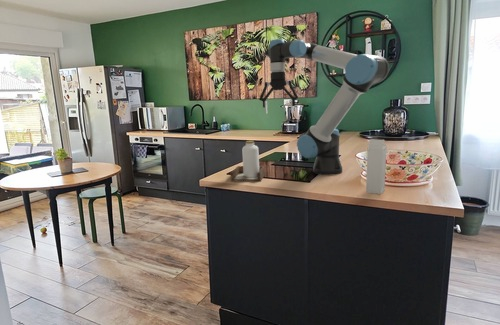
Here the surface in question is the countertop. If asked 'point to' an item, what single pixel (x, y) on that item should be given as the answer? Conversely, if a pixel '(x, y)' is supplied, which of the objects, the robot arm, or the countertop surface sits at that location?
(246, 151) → the white bottle
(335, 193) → the countertop surface
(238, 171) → the brown tray
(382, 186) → the milk
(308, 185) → the countertop surface
